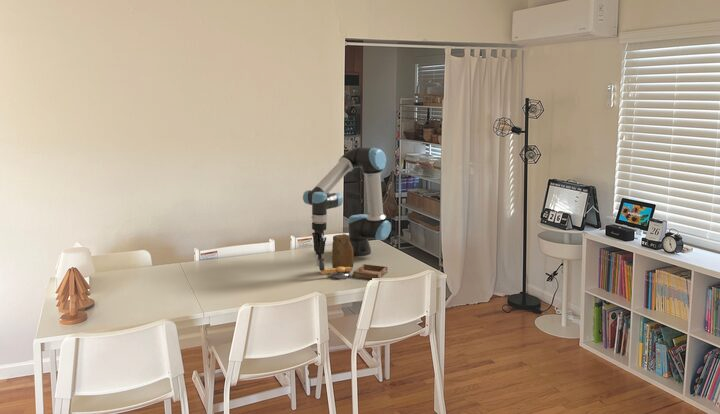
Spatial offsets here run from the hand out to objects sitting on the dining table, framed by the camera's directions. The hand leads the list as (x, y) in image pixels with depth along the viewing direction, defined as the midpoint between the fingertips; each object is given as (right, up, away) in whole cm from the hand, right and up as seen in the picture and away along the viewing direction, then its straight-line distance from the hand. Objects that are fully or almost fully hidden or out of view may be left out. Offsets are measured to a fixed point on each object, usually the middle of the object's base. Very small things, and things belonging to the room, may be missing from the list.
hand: (318, 265), depth 326 cm
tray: (+27, -5, +5) cm, 28 cm away
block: (+12, -4, +12) cm, 18 cm away
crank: (+9, -3, 0) cm, 9 cm away
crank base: (+11, -6, +2) cm, 13 cm away
